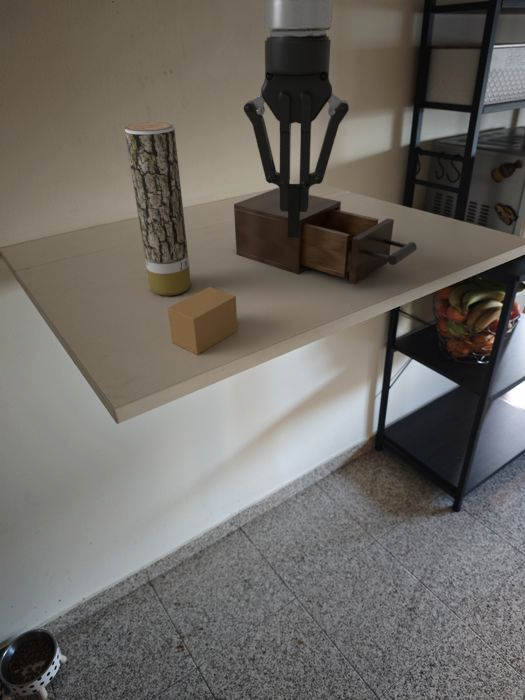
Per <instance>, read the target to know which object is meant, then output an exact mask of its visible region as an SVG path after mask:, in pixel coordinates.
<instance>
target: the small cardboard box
mask: <svg viewBox="0 0 525 700" xmlns="http://www.w3.org/2000/svg"><path fill="white" fill-rule="evenodd" d="M167 314H168V322H169V326H170V327H169V328H170V329H169V330H170V335H171V342H172V344H174V345H176V346H178V347H180V348H183V349H184V350H186V351H189V352H191V353H192V354H194V355H196V356H198V355H200V354H201V353H203V352H205V351H207V350H208V349H210V348H212V347H213V346H215V345H217V344H218V343H220V342H221V341H223V340H225V339H226V338H228V337H230V336H231V335H233V334H234V333H236V332H238V314H237V297H236V296H235V295H233V294H231V293H228V292H225V291H223V290H220V289H218V288H215V287H212V286H207V287H206V288H204V289H201V290H200V291H198V292H196V293H194V294H192V295H190V296H189V297H186V298H184V299H182V300H181V301H178V302H176V303H174V304H172V305H170V306H168V307H167Z"/></svg>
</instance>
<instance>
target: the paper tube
mask: <svg viewBox="0 0 525 700" xmlns="http://www.w3.org/2000/svg"><path fill="white" fill-rule="evenodd" d="M175 130H176V129H175V124H174V123H172V122H168V121H144V122H135V123H130V124H127V125H125V126H124V134H125V141H126V147H127V154H128V159H129V160H128V161H129V165H130V173H131V179H132V184H133V192H134V197H135V203H136V209H137V216H138V221H139V228H140V235H141V240H142V241H141V242H142V248H143V254H144V259H145V267H146V272H147V279H148V284H149V288H150V290H151V291H152V292H153V293H154V294H155V295H159V296H163V297H165V296H166V297H169V296H177V295H180V294H184V293H185V292H186V291H188V290H189V288H190V287H191V285H192V284H191V283H192V280H191V273H190V271H191V270H190V261H189V251H188V241H187V234H186V225H185V224H186V223H185V222H186V221H185V214H184V206H183V204H184V203H183V195H182V185H181V177H180V176H181V175H180V167H179V157H178V148H177V140H176V131H175Z"/></svg>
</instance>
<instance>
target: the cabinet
mask: <svg viewBox="0 0 525 700" xmlns="http://www.w3.org/2000/svg"><path fill="white" fill-rule="evenodd" d="M341 206H342V201H341V200H335V199H332V198H326V197H321V196H316V195H312V194H309V202H308V209H307V212H300V226H299V237H298V238H297V237H288V212H282V211H281V210H280V189H279V187H276V188H274V189H271V190H268V191H265V192H262V193H260V194H258V195H255V196H252V197H249V198H246V199H244V200H241V201H239V202H236V203H233V215H234V233H235V234H234V235H235V236H234V237H235V254H236V255H238V256H241V257H243V258H246V259H250V260H253V261H255V262H258V263H262V264H266V265H269V266H271V267H274V268H278V269H281V270H284V271H287V272H290V273H293V274H296V275H300V274H301V273H303V272H305V271H307V270H308V269H311V268H310V267H307V266H303V265H301V247H302V224H303V223H305V222H307V221H309V220H312V219H314V218H316V217H318V216H320V215H322V214H324V213H327V212H329V211H331V210H333V209H336V210H341V208H342V207H341Z"/></svg>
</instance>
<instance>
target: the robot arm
mask: <svg viewBox="0 0 525 700" xmlns="http://www.w3.org/2000/svg"><path fill="white" fill-rule="evenodd" d="M263 2H264V3H263V9H264V11H263V12H264V13H263V15H264V29H265V31H266V32H269V36H267V37H266V39H265V40H264V81H263V83H262V85H261V87H260V93H259V94H258V95H257V96H256V97H254V98H252V99H251V100H248V101H247V102H246V103H245V104H244V106H243V112H244V113H245V115H246V116H247V118H248V120H249V122H250V123H251V124H252V128H253V133H254V136H255V141H256V146H257V149H258V153H259V157H260V161H261V166H262V170H263V173H264V177H265V181H266V182H267V183H268V184H273V185H276V186H277V188H279V189H280V210H281V211H282V212H288V237H297V238H298V237H299V226H300V212H307V209H308V202H309V195H310V188H311V187H312V186H315V185H320V184H322V183H323V181H324V178H325V174H326V171H327V167H328V164H329V160H330V157H331V154H332V150H333V147H334V143H335V139H336V137H337V133H338V130H339V127H340V124H341V123H342V121H343V120H344V117H346V115H348V112H349V109H350V107H349V103H348V101H347V100H343V99H341V98H340V97H338V96H337V95H335V93H333V86H332V83H331V82H330V61H331V60H330V59H331V43H332V42H331V41H332V40H331V39H330V36H328V35H327V33H326V31H329V30H330V29H331V28H332V20H333V3H334V0H263ZM327 103H328V105H329V106H328V109H327V114H328V115H329V120H328V122H327V125H326V130H325V133H324V137H323V140H322V144H321V148H320V151H319V155H318V158H317V162H316V164H315V165H316V166H315V169H314V171H313V172H311V144H312V122H314V121H315V120H316V119H317V118H318V116H319V115H320V113H321V111H322V110H323V109H324V108H325V106H326V105H327ZM265 104H266V105H267V107H268V108H269V110H270V111H271V113H272V115H273V116H274V118H275V119H276V120H277V121H278V122H279V172H278V171H277V169H276V164H275V160H274V156H273V151H272V148H271V142H270V139H269V134H268V130H267V126H266V122H265V118H264V114H265V112H266V109H265ZM292 124H299V125H300V141H299V142H300V145H299V147H300V149H299V183H290V182H291V145H292Z"/></svg>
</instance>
